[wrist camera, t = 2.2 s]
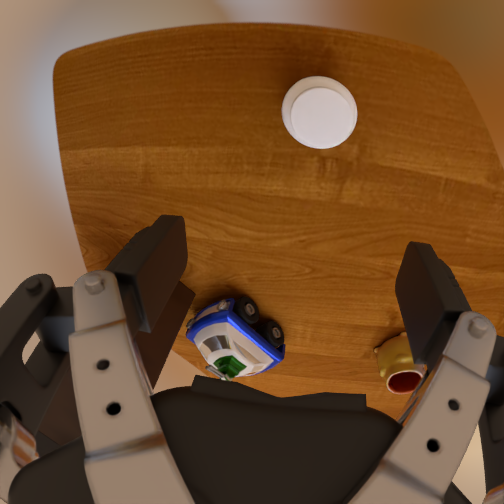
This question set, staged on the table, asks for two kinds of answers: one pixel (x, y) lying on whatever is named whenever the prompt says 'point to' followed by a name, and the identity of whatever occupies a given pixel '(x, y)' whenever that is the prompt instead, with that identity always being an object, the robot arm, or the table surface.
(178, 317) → the tall grey box
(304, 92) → the pill bottle
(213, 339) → the toy car
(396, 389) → the mug
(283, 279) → the table surface
